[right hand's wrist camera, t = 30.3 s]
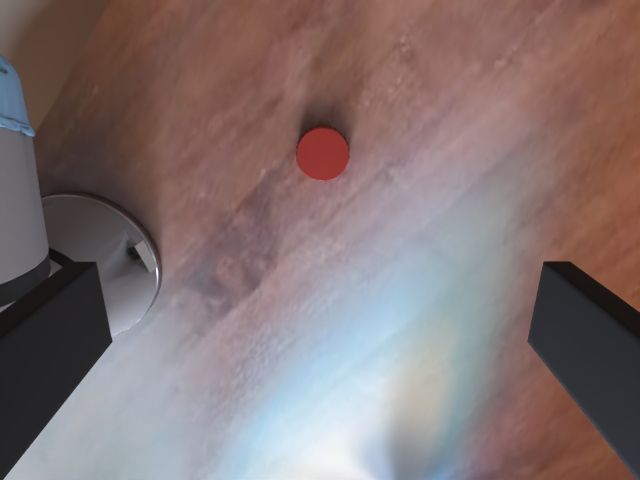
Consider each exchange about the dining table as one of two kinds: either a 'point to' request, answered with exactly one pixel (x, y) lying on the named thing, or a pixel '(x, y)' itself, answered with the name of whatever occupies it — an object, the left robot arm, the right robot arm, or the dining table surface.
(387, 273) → the dining table surface
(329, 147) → the lid
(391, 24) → the dining table surface
